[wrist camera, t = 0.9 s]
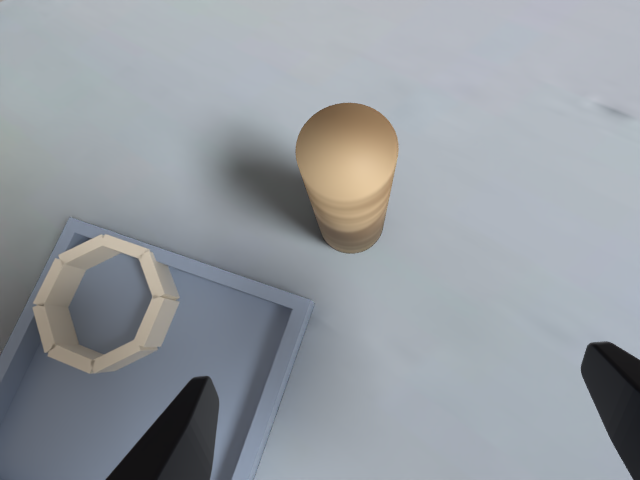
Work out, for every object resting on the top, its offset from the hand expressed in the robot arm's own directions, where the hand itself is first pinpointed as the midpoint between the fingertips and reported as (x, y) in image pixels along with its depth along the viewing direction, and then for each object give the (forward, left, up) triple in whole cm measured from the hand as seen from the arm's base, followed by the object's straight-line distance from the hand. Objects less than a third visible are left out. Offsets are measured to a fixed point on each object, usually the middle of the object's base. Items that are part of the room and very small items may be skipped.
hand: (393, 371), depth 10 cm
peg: (+7, +4, -14) cm, 16 cm away
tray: (-6, +12, -14) cm, 20 cm away
